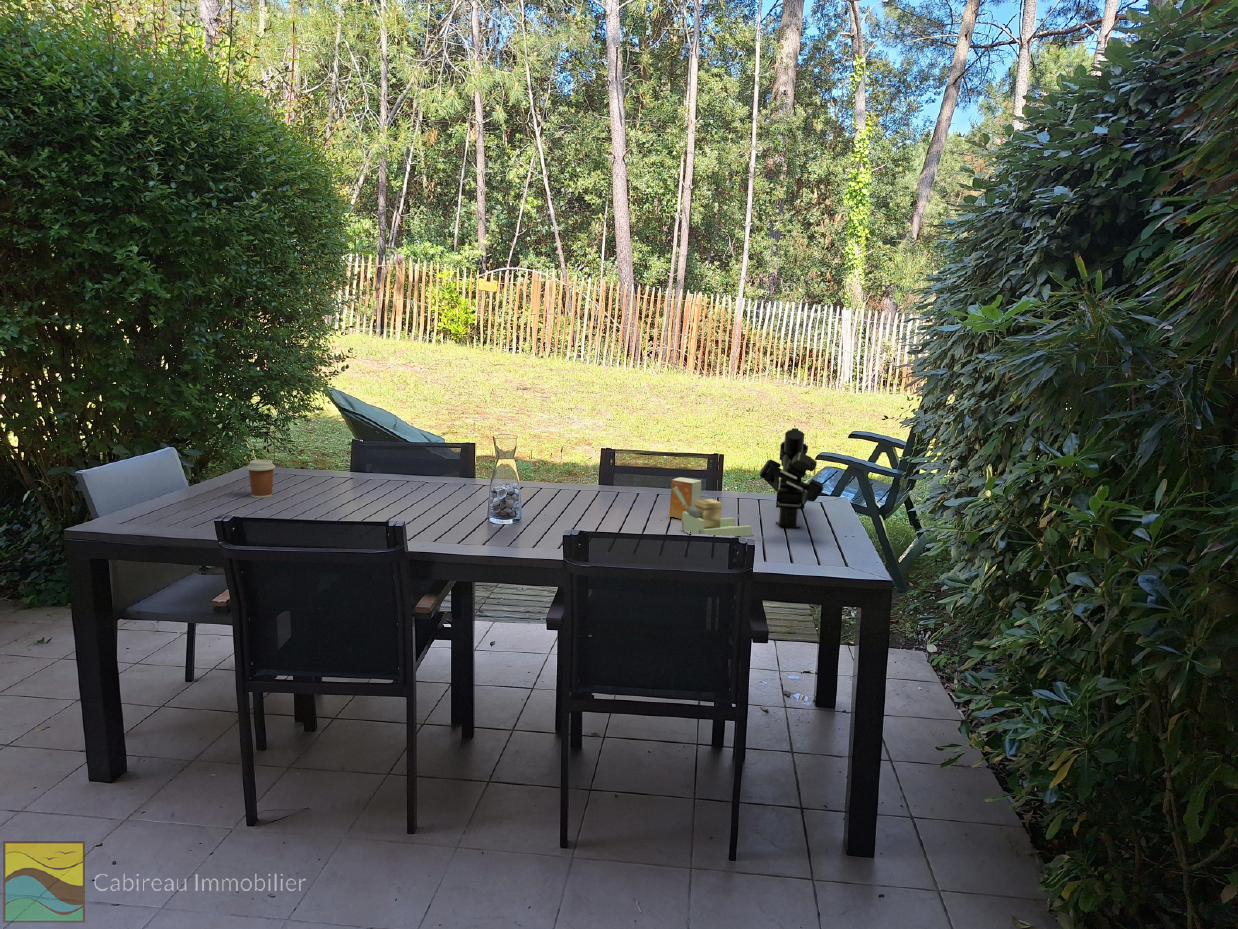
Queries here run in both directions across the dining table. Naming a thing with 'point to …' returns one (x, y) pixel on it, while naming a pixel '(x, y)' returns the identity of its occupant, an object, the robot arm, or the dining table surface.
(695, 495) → the small box
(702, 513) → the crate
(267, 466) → the coffee cup
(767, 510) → the dining table surface
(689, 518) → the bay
